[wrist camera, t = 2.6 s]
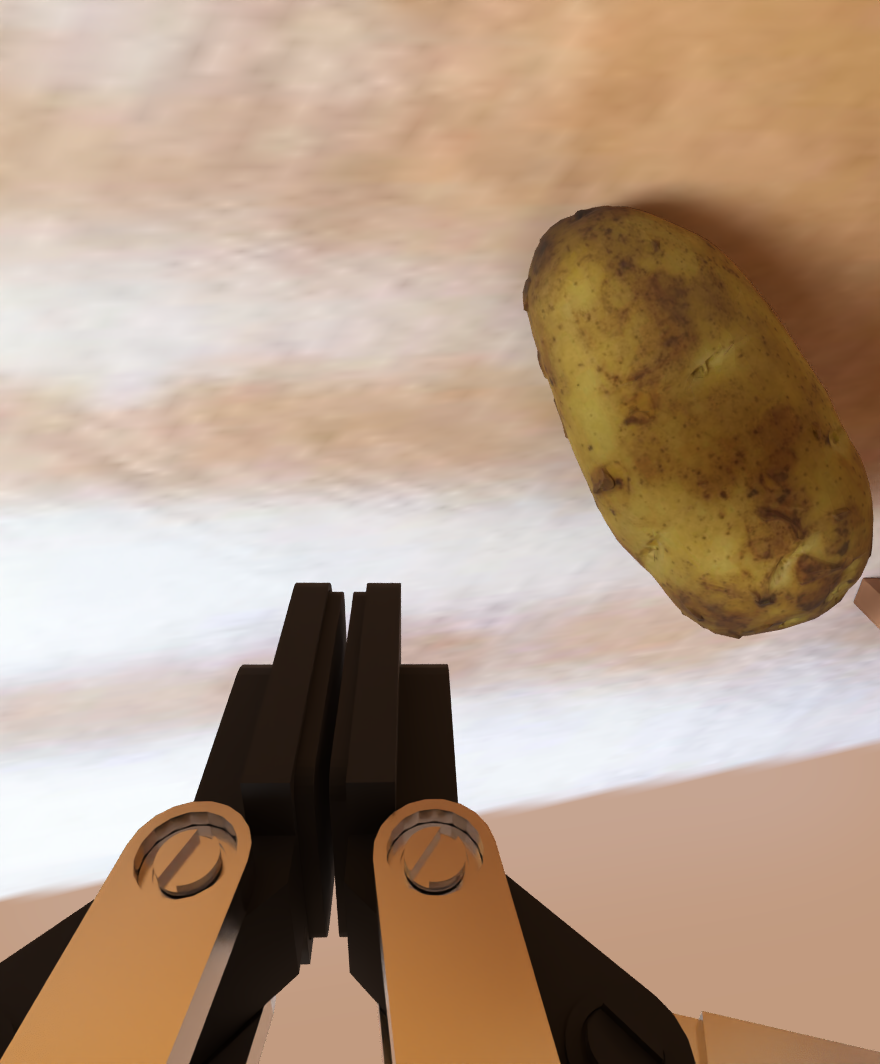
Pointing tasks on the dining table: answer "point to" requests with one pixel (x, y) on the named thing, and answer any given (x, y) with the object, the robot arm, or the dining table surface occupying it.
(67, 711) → the dining table surface
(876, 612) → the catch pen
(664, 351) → the potato
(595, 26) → the dining table surface
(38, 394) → the dining table surface
